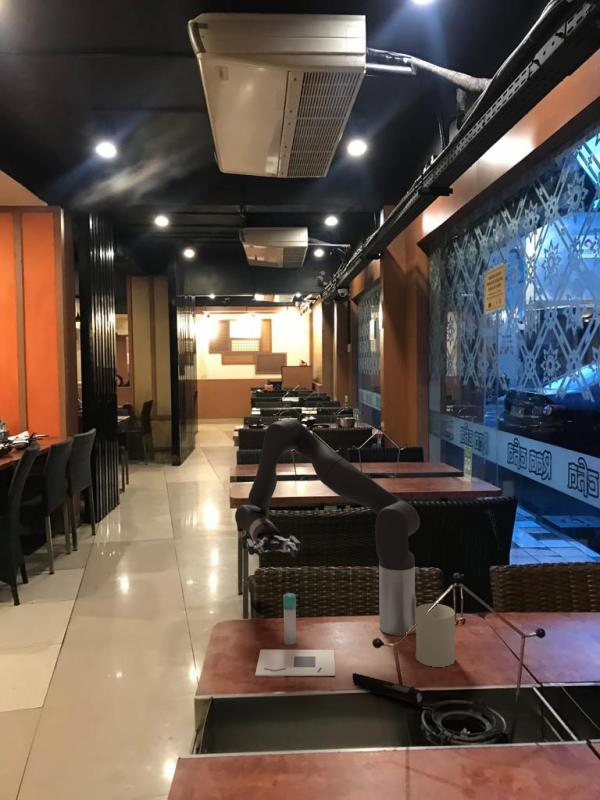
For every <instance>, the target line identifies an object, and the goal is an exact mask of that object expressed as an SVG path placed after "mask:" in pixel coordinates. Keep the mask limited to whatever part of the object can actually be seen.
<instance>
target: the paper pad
mask: <svg viewBox="0 0 600 800" xmlns="http://www.w3.org/2000/svg"><path fill="white" fill-rule="evenodd" d="M259 650H260V651H259V655H258V656H259V657H258V660H257V665H256V669H255V670H256V671H255V675H254V676H255V677H284V676H335V677H336V671H335V670H336V667H335V650H334V649H259Z"/></svg>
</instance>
